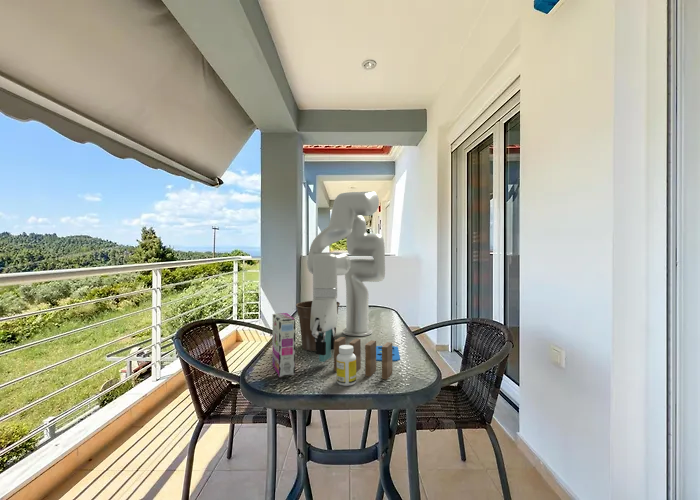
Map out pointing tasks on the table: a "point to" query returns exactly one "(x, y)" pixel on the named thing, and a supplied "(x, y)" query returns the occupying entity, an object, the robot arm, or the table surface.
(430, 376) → the table surface
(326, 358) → the domino teal end
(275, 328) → the candy bar box
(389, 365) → the walnut domino
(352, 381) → the supplement bottle
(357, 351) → the walnut domino
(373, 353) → the walnut domino
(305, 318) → the plant pot
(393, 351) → the handheld gaming device
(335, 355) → the walnut domino
